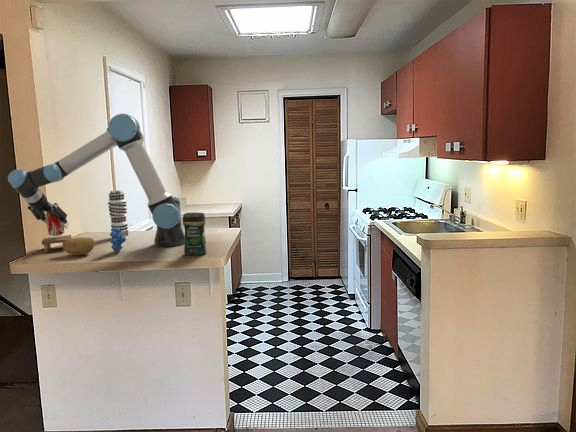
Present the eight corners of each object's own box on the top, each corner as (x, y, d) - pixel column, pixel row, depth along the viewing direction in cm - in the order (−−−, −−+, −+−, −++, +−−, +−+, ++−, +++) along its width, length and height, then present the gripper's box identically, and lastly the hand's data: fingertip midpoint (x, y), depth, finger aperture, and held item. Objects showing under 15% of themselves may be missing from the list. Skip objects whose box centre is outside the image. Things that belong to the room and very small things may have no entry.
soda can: (58, 236, 220) (55, 211, 218) (45, 236, 222) (42, 211, 220) (67, 233, 227) (65, 209, 225) (55, 233, 229) (52, 209, 227)
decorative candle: (122, 240, 243) (118, 191, 239) (107, 239, 245) (103, 191, 241) (133, 236, 251) (129, 190, 247) (117, 235, 254) (113, 190, 250)
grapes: (123, 255, 209) (121, 228, 207) (108, 255, 209) (105, 229, 207) (130, 249, 220) (128, 224, 219) (115, 249, 220) (113, 224, 218)
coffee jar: (182, 256, 204) (179, 214, 201) (188, 251, 212) (185, 211, 209) (204, 256, 203) (201, 213, 200) (209, 251, 211) (206, 211, 208)
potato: (69, 252, 217) (68, 235, 216) (99, 252, 216) (97, 235, 215) (58, 258, 207) (56, 240, 206) (89, 257, 207) (87, 239, 205)
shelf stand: (71, 250, 222) (70, 239, 221) (42, 253, 218) (41, 242, 217) (72, 245, 233) (71, 234, 232) (45, 247, 229) (44, 237, 228)
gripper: (10, 204, 208) (38, 233, 226) (52, 203, 205) (76, 232, 224) (17, 191, 212) (43, 220, 231) (58, 190, 210) (81, 219, 228)
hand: (60, 226), depth 227 cm, fingers closed on soda can, 7 cm apart
